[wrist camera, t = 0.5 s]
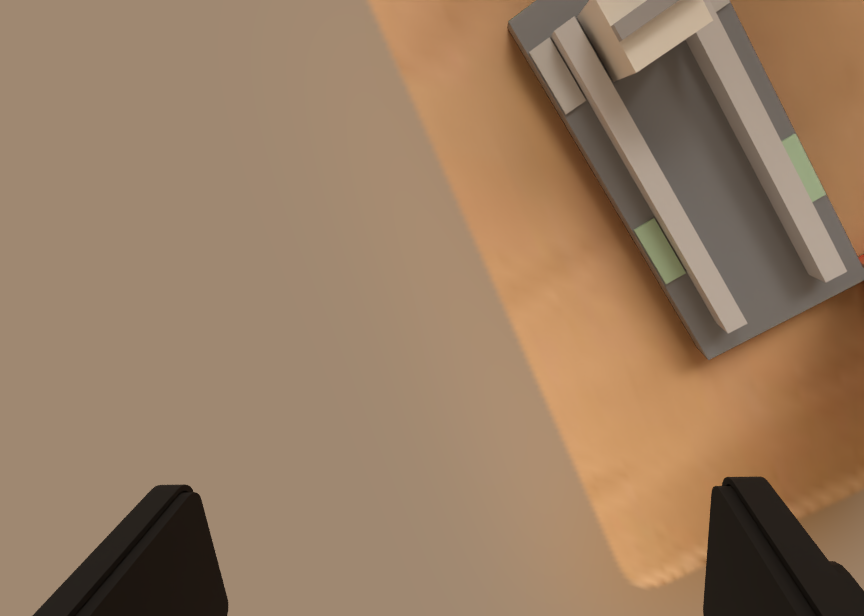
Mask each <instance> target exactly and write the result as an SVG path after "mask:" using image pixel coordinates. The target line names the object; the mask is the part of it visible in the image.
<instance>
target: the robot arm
mask: <svg viewBox="0 0 864 616" xmlns="http://www.w3.org/2000/svg"><path fill="white" fill-rule="evenodd" d="M227 613H228V599H227V596H226V592H225V588H224V584H223V580H222V576H221V572H220V569H219V565H218V561H217V557H216V554H215V550H214V546H213V542H212V539H211V535H210V531H209V527H208V523H207V519H206V516H205V512H204V508H203V504H202V500H201V498H200V495H199V494H198V493H195V492H193V490H192V488H191V487H190V486H188V485H158V486H156V487H154V488H153V489H152V490H151V491H150V492H149V493H148V494H147V495H146V496H145V497H144V498H143V499H142V500H141V501H140V503H138V505H137V506H136V507H135V508H134V509H133V510H132V511H131V512H130V513H129V514H128V515H127V516H126V517H125V518H124V519H123V520H122V521H121V523H120V524H119V525H118V526H117V527H116V528H115V529H114V530H113V531H112V532H111V533H110V534H109V535H108V536H107V538H105V539H104V541H103V542H102V543H101V544H100V545H99V546H98V547H97V548H96V549H95V550H94V551H93V552H92V553H91V554H90V555H89V556H88V558H87V559H86V560H85V561H84V562H83V563H82V564H81V565H80V566H79V567H78V568H77V569H76V570H75V571H74V572H73V573H72V575H70V577H69V578H68V579H67V580H66V581H65V582H64V583H63V584H62V585H61V586H60V587H59V588H58V589H57V590H56V591H55V592H54V594H53V595H52V596H51V597H50V598H49V599H48V600H47V601H46V602H45V603H44V604H43V605H42V606H41V608H39V609H38V610H37V612H36V613H35V614H34V615H33V616H227ZM703 613H704V616H864V591H863V589H862V588H861V587H860V586H859V584H858V583H857V582H856V581H855V579H854V578H853V577H852V576H851V574H850V573H849V572H848V571H847V570H846V569H845V568H844V567H843V566H842V565H840V564H838V563H836V562H833V561H828V559H827V558H826V557H825V555H824V554H823V553H822V552H821V550H820V549H819V548H818V546H817V545H816V544H815V543H814V541H813V540H812V539H811V537H810V536H809V535H808V533H807V532H806V531H805V529H804V528H803V527H802V525H801V524H800V523H799V522H798V520H797V519H796V518H795V516H794V515H793V514H792V512H791V511H790V510H789V508H788V507H787V506H786V505H785V503H784V502H783V501H782V499H781V498H780V497H779V495H778V494H777V493H776V492H775V490H774V489H773V488H772V486H771V485H770V484H769V482H768V481H767V480H766V479H765V478H763V477H726V478H725V479H724V481H723V483H722V486H715V487H713V489H712V495H711V509H710V522H709V536H708V550H707V564H706V577H705V591H704V605H703Z"/></svg>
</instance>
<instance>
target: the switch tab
mask: <svg viewBox="0 0 864 616" xmlns="http://www.w3.org/2000/svg"><path fill="white" fill-rule="evenodd" d="M577 18H578V20H579V22H580V24H581V25H582V27H583V29H584V31H585V33H586V34H587V36H588V38H589V40H590V41H591V43H592V45H593V47H594V49H595V50H596V52H597V54H598V56H599V57H600V59H601V61H602V63H603V65H604V66H605V68H606V70H607V72H608V73H609V75H610V77H611V79H612V81H613V82H615V81H617V80H620V79H622V78H625V77H627V76H630V75H632V74H635V73H637V72H638V71H640V70H641V69H643V68H644V67H646V66H647V65H648V64H650V63H651V62H653V61H654V60H656V59H657V58H659V57H660V56H662V55H663V54H665V53H666V52H668V51H669V50H671V49H672V48H674V47H675V46H676V45H678V44H679V43H681V42H682V41H684V40H685V39H687V38H688V37H690V36H691V35H693V34H694V33H696V32H697V31H699V30H700V29H701V28H703V27H704V26H706V25H707V24H709V23H710V22H712V21H713V19H712V17H711V15H710V13H709V11H708V9H707V7H706V5H705V3H704V1H703V0H589V1H588V3H587V4H586V5H585V7H584V8H583V9H582V11H581V12H580V13H579V15H578V16H577Z"/></svg>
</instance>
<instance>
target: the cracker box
mask: <svg viewBox="0 0 864 616" xmlns="http://www.w3.org/2000/svg"><path fill="white" fill-rule="evenodd" d="M858 258H859V260H860V262H861V264H862V266H863V268H864V255H862V256H860V257H858Z"/></svg>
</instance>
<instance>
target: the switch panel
mask: <svg viewBox="0 0 864 616" xmlns="http://www.w3.org/2000/svg"><path fill="white" fill-rule="evenodd" d="M588 1H589V0H536V1H535V2H533V3H532V4H531V5H529V6H528V7H527V8H525V9H524V10H523V11H521V12H520V13H519V14H517V15H516V16H515V17H513V18H512V19H511V20H509V21H508V27H507V28H508V29H509V31H510V33H511V35H512V36H513V38H514V40H515V41H516V43H517V45H518V46H519V48H520V50H521V51H522V53H523V55H524V56H525V58H526V60H527V62H528V63H529V65H530V67H531V68H532V70H533V72H534V73H535V75H536V77H537V78H538V80H539V82H540V83H541V85H542V87H543V89H544V90H545V92H546V94H547V95H548V97H549V99H550V100H551V102H552V104H553V105H554V107H555V109H556V110H557V112H558V114H559V115H560V117H561V119H562V121H563V122H564V124H565V126H566V127H567V129H568V131H569V132H570V134H571V136H572V137H573V139H574V141H575V142H576V144H577V146H578V148H579V149H580V151H581V153H582V154H583V156H584V158H585V159H586V161H587V163H588V164H589V166H590V168H591V169H592V171H593V173H594V174H595V176H596V178H597V180H598V181H599V183H600V185H601V186H602V188H603V190H604V191H605V193H606V195H607V196H608V198H609V200H610V201H611V203H612V205H613V207H614V208H615V210H616V212H617V213H618V215H619V217H620V218H621V220H622V222H623V223H624V225H625V227H626V228H627V230H628V232H629V234H630V235H631V237H632V239H633V240H634V242H635V244H636V245H637V247H638V249H639V250H640V252H641V254H642V255H643V257H644V259H645V260H646V262H647V264H648V266H649V267H650V269H651V271H652V272H653V274H654V276H655V277H656V279H657V281H658V282H659V284H660V286H661V287H662V289H663V291H664V293H665V294H666V296H667V298H668V299H669V301H670V303H671V304H672V306H673V308H674V309H675V311H676V313H677V314H678V316H679V318H680V320H681V321H682V323H683V325H684V326H685V328H686V330H687V331H688V333H689V335H690V336H691V338H692V340H693V341H694V343H695V345H696V346H697V348H698V349H699V350H700V351H701V353H702V354H703V355H704V356H705V357H706V358H707V359H708V360H710V359H712V358H714V357H716V356H718V355H720V354H722V353H724V352H726V351H727V350H729V349H731V348H733V347H735V346H737V345H739V344H741V343H743V342H745V341H747V340H749V339H751V338H753V337H755V336H757V335H759V334H761V333H763V332H765V331H766V330H768V329H770V328H772V327H774V326H776V325H778V324H780V323H782V322H784V321H786V320H788V319H790V318H792V317H794V316H796V315H798V314H800V313H802V312H804V311H805V310H807V309H809V308H811V307H813V306H815V305H817V304H819V303H821V302H823V301H825V300H827V299H829V298H831V297H833V296H835V295H837V294H839V293H841V292H843V291H844V290H846V289H848V288H850V287H852V286H854V285H856V284H858V283H860V282H862V281H864V268H863V266H862V264H861V262H860V260H859V258H858V256H857V254H856V252H855V250H854V248H853V246H852V244H851V242H850V240H849V238H848V236H847V234H846V232H845V230H844V228H843V226H842V224H841V222H840V220H839V218H838V216H837V214H836V212H835V210H834V208H833V206H832V204H831V202H830V200H829V198H828V196H827V194H826V192H825V190H824V188H823V186H822V184H821V182H820V180H819V178H818V176H817V174H816V172H815V170H814V168H813V166H812V164H811V162H810V160H809V158H808V156H807V154H806V152H805V150H804V148H803V146H802V144H801V142H800V140H799V138H798V136H797V134H796V132H795V130H794V128H793V126H792V124H791V122H790V120H789V118H788V116H787V114H786V112H785V110H784V108H783V106H782V104H781V102H780V100H779V98H778V96H777V94H776V92H775V90H774V88H773V86H772V84H771V82H770V80H769V78H768V76H767V74H766V72H765V70H764V68H763V66H762V64H761V62H760V60H759V58H758V56H757V54H756V52H755V50H754V48H753V46H752V44H751V42H750V40H749V38H748V36H747V34H746V32H745V30H744V28H743V26H742V24H741V22H740V20H739V18H738V16H737V14H736V12H735V10H734V8H733V6H732V4H731V2H730V0H703V1H704V3H705V5H706V7H707V9H708V11H709V13H710V15H711V17H712V19H713V21H712V22H710V23H709V24H707V25H706V26H704V27H703V28H701V29H700V30H699V31H697V32H696V33H694V34H693V35H691V36H690V37H688V38H687V39H685V40H684V41H682V42H681V43H679V44H678V45H676V46H675V47H674V48H672V49H671V50H669V51H668V52H666V53H665V54H663V55H662V56H660V57H659V58H657V59H656V60H654V61H653V62H651V63H650V64H648V65H647V66H646V67H644V68H643V69H641V70H640V71H638V72H637V73H635V74H632V75H630V76H627V77H625V78H622V79H620V80H617V81H615V82H613V81H612V79H611V77H610V75H609V73H608V72H607V70H606V68H605V66H604V65H603V63H602V61H601V59H600V57H599V56H598V54H597V52H596V50H595V49H594V47H593V45H592V43H591V41H590V40H589V38H588V36H587V34H586V33H585V31H584V29H583V27H582V25H581V24H580V22H579V20H578V18H577V16H578V15H579V13H580V12H581V11H582V9H583V8H584V7H585V5H586V4H587V3H588Z"/></svg>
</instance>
